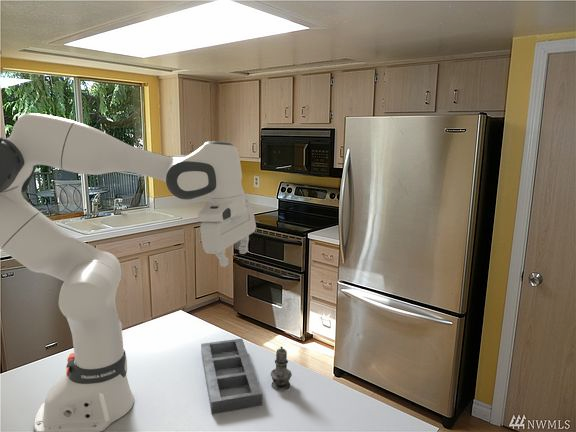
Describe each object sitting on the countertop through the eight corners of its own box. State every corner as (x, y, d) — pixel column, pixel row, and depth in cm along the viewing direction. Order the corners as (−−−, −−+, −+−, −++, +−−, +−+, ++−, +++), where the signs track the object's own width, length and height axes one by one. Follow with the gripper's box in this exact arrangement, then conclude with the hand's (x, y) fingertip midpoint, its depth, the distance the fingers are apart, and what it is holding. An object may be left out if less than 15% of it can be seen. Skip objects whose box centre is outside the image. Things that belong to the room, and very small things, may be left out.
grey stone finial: (291, 392, 114) (292, 352, 111) (269, 391, 114) (270, 351, 111) (291, 379, 120) (292, 341, 117) (271, 378, 120) (271, 340, 117)
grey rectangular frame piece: (211, 414, 105) (211, 402, 104) (201, 353, 132) (201, 343, 131) (262, 405, 109) (262, 393, 108) (242, 348, 135) (242, 338, 135)
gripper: (238, 197, 114) (244, 245, 118) (193, 216, 96) (201, 272, 100) (258, 197, 112) (263, 246, 115) (216, 216, 94) (223, 274, 97)
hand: (234, 259), depth 107 cm, fingers open, 8 cm apart
